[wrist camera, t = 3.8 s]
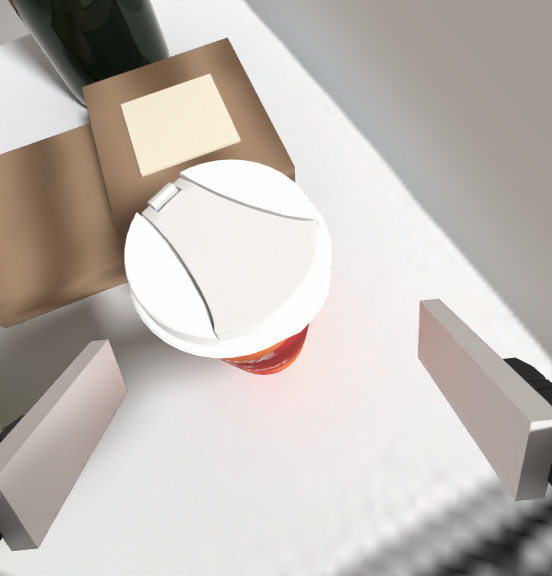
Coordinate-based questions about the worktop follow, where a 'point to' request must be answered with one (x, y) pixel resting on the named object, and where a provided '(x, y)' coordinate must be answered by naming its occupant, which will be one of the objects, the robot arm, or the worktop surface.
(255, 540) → the worktop surface
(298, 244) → the paper cup
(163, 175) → the step riser
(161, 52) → the dark green wine bottle
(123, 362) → the worktop surface
